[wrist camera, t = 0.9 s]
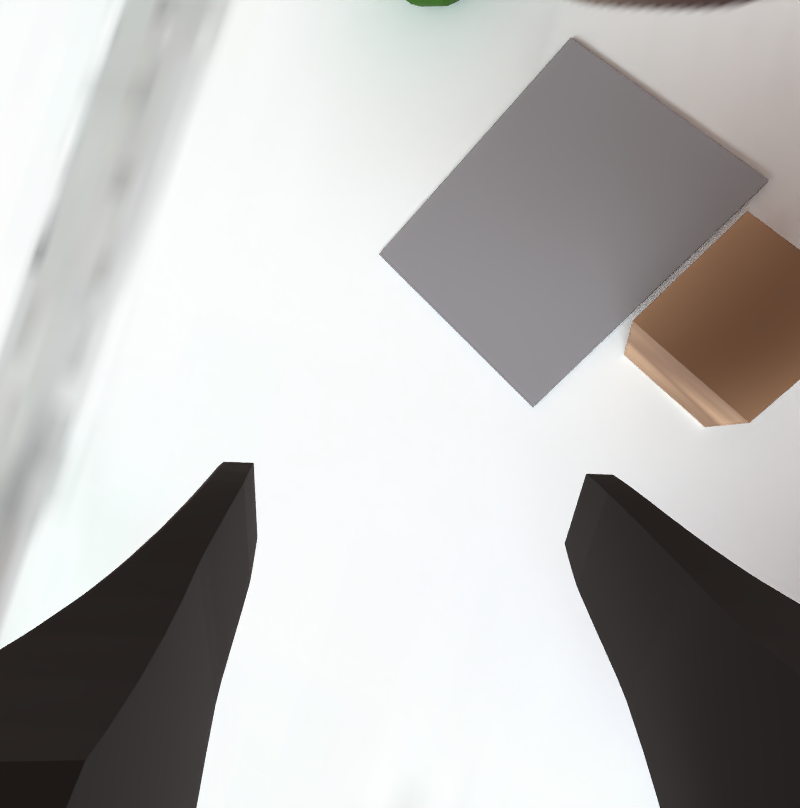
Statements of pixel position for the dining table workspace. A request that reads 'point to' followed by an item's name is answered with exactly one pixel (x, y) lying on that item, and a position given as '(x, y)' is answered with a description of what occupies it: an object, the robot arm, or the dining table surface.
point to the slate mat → (566, 219)
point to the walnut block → (726, 327)
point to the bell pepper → (432, 2)
